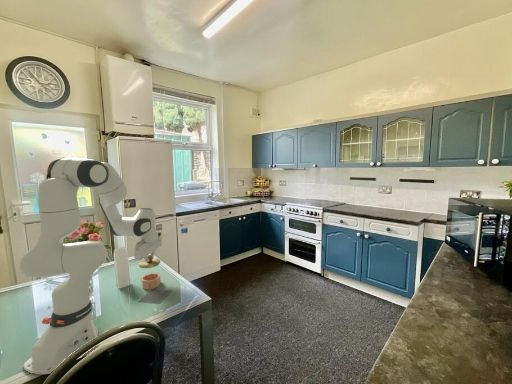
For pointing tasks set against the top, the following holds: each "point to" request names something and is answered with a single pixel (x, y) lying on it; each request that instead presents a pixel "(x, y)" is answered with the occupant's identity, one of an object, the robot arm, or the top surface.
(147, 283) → the bowl
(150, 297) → the mat
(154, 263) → the lid
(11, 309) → the top surface
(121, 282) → the milk
